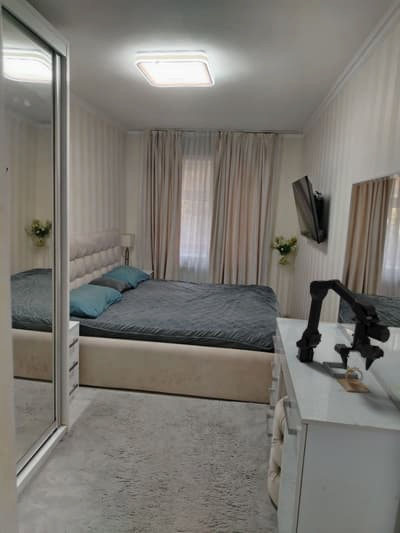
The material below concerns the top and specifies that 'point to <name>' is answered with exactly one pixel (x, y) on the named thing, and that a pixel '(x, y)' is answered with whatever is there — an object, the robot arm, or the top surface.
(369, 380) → the top surface
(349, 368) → the ring
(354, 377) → the bin
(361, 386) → the pad
